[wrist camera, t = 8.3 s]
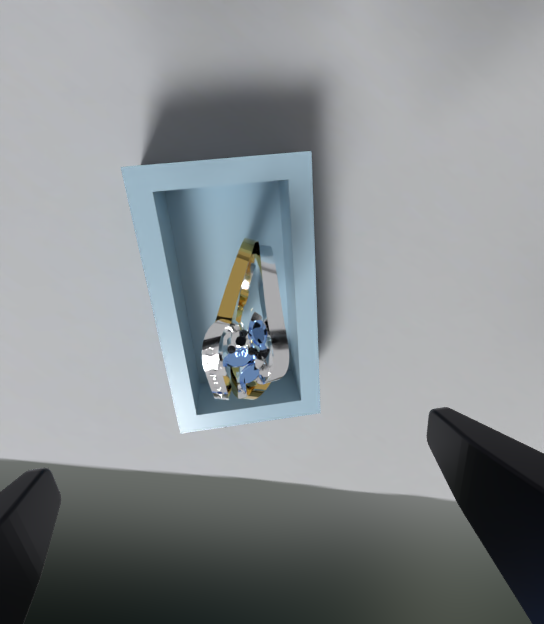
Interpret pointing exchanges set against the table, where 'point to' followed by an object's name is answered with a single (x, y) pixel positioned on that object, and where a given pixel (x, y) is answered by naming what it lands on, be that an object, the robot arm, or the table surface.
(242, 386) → the ring
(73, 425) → the table surface
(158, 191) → the box
